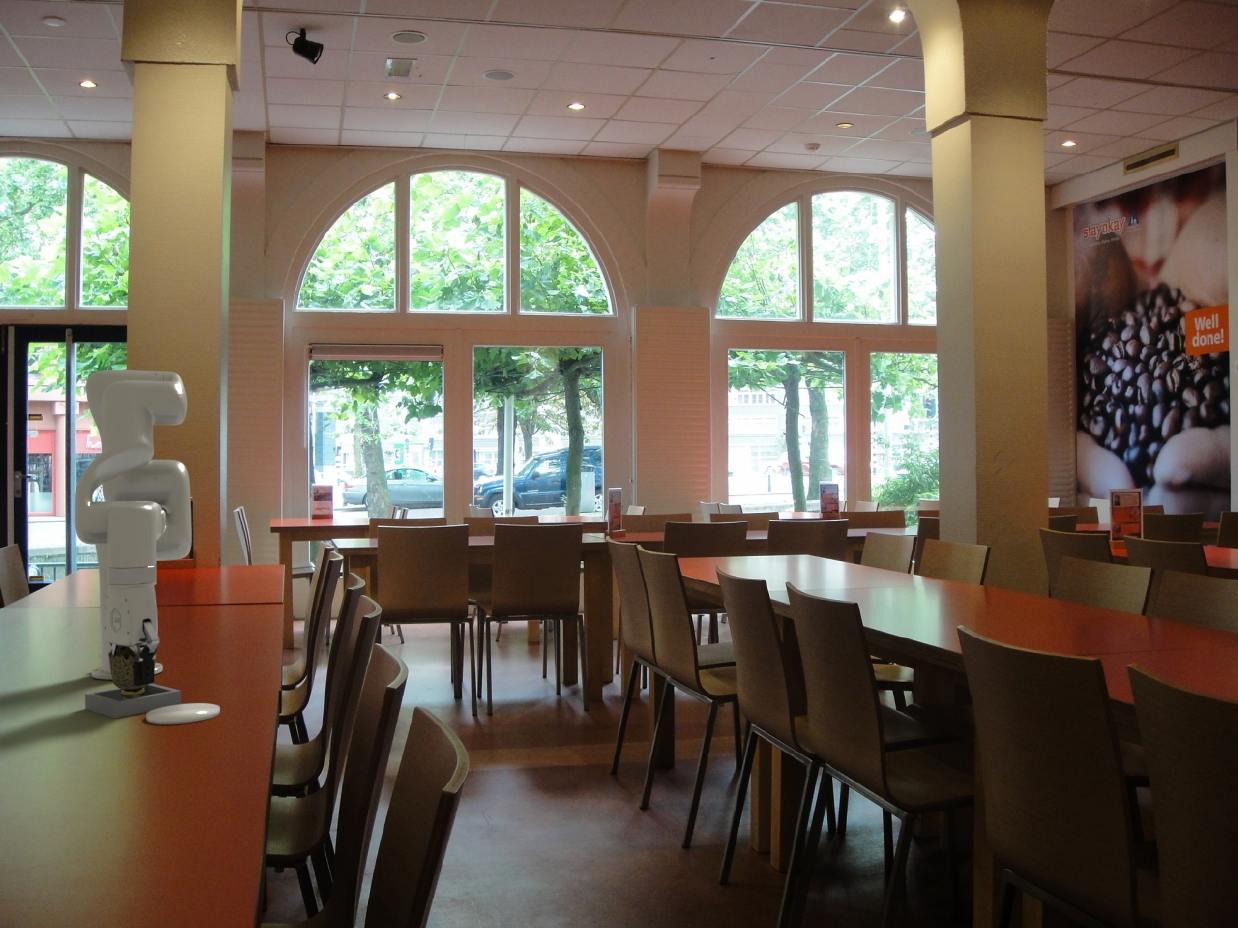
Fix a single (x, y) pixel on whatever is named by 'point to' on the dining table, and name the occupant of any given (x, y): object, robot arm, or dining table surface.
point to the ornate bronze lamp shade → (125, 673)
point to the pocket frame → (131, 701)
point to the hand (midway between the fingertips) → (133, 680)
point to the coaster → (183, 713)
